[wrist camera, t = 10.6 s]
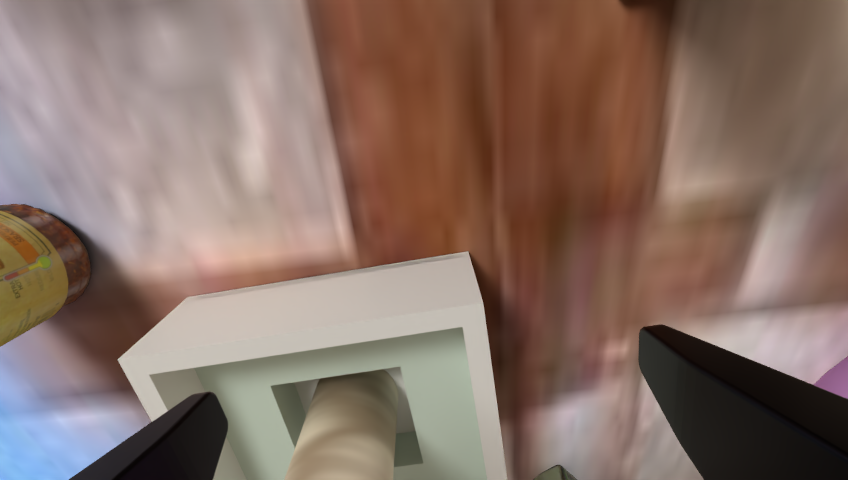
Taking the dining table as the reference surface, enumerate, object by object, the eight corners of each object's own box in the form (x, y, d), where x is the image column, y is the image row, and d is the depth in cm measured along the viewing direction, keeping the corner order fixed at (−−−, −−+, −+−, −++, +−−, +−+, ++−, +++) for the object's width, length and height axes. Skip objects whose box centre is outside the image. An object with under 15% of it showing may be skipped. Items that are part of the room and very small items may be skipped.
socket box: (468, 251, 21) (483, 302, 16) (498, 462, 27) (517, 550, 22) (187, 297, 22) (117, 359, 17) (274, 492, 28) (241, 583, 23)
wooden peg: (388, 354, 23) (368, 532, 14) (405, 419, 25) (398, 618, 15) (305, 368, 23) (230, 553, 14) (328, 431, 25) (275, 635, 16)
